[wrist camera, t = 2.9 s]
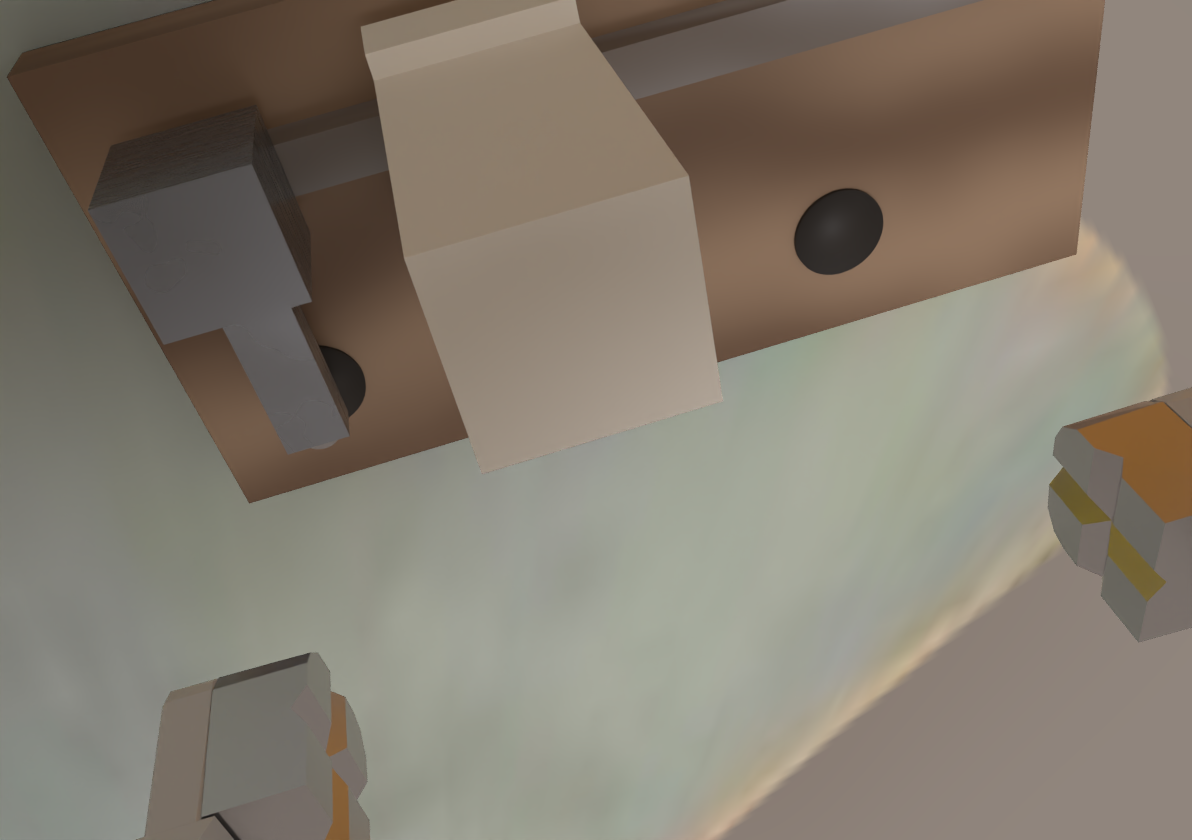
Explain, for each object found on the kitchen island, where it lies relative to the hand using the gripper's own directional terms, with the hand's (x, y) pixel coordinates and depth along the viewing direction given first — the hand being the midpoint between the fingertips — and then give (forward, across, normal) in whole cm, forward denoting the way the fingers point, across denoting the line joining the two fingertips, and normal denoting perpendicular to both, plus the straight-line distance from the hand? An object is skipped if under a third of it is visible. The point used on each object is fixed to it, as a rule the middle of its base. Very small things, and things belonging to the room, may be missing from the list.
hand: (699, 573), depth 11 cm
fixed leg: (+15, +6, +3) cm, 16 cm away
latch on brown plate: (+17, -2, +3) cm, 17 cm away
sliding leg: (+15, 0, +2) cm, 15 cm away
